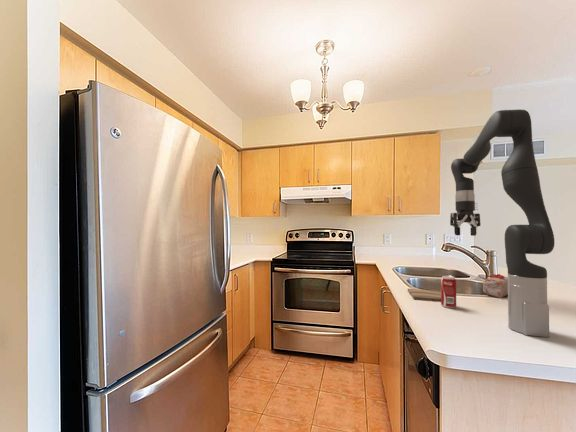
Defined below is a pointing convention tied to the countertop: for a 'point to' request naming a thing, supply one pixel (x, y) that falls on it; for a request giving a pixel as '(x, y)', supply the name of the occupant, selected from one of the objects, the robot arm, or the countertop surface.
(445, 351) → the countertop surface
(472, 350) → the countertop surface
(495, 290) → the food item
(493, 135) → the robot arm
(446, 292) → the soda can
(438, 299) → the walnut board
